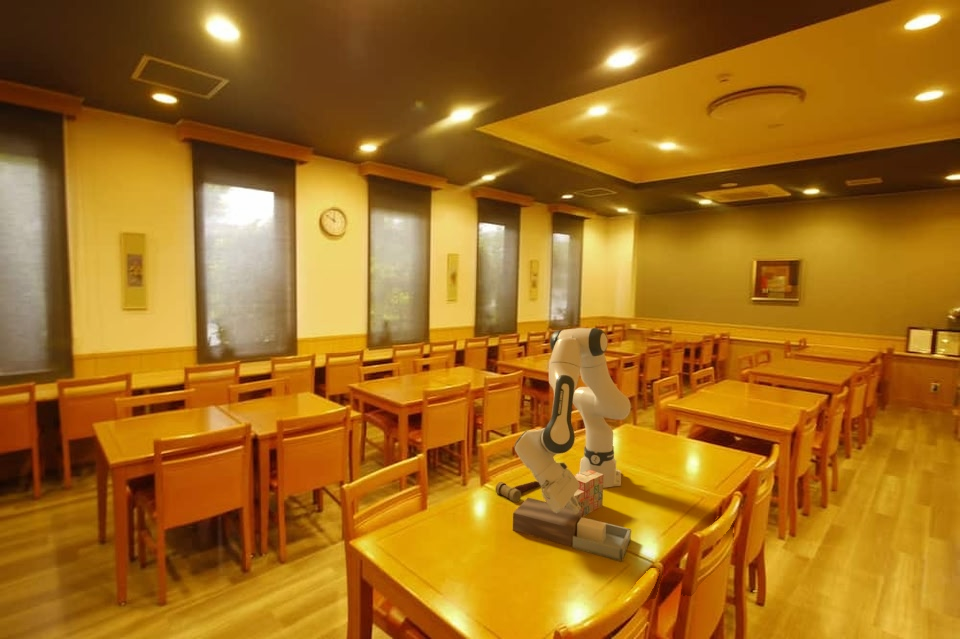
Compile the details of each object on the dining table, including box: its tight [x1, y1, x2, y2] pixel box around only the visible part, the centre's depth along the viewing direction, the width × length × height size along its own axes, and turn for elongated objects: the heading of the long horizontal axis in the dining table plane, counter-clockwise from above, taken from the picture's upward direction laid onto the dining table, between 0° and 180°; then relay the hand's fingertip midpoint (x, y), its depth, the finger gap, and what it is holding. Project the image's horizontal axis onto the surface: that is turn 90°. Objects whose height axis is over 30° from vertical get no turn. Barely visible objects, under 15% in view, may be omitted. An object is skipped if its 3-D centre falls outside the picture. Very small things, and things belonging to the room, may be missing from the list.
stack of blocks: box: [565, 470, 604, 517], centre depth 169 cm, size 21×6×12 cm, turn 134°
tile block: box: [577, 516, 607, 544], centre depth 150 cm, size 5×5×8 cm
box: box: [572, 517, 632, 562], centre depth 148 cm, size 14×15×4 cm
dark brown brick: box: [512, 497, 584, 548], centre depth 157 cm, size 13×20×6 cm, turn 62°
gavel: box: [494, 480, 541, 503], centre depth 186 cm, size 21×5×10 cm
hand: (578, 511), depth 152 cm, fingers closed
